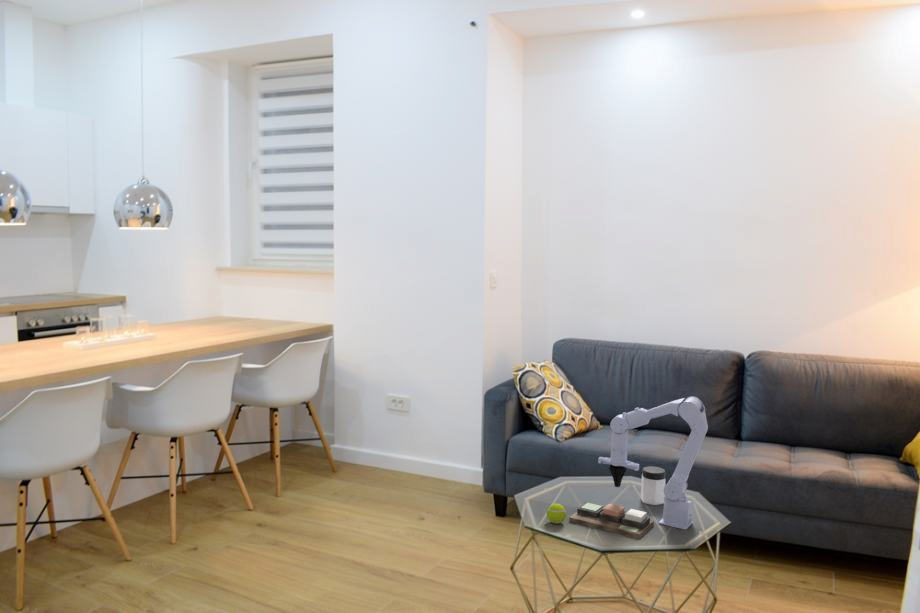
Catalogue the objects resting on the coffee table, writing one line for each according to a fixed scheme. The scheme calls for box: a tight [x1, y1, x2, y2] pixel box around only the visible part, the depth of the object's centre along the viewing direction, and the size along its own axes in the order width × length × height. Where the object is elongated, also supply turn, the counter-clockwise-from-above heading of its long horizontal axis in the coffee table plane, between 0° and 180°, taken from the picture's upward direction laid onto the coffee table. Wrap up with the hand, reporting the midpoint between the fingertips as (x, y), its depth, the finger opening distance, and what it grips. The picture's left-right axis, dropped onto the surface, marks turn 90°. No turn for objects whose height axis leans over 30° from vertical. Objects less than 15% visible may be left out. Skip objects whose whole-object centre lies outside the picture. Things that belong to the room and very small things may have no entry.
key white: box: [625, 508, 648, 523], centre depth 262 cm, size 6×6×2 cm
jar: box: [640, 465, 666, 506], centre depth 287 cm, size 9×8×12 cm
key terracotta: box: [603, 503, 625, 517], centre depth 267 cm, size 6×6×2 cm
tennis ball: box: [546, 503, 567, 525], centre depth 264 cm, size 7×7×7 cm
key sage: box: [581, 502, 603, 512], centre depth 271 cm, size 6×6×2 cm
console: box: [568, 501, 655, 540], centre depth 266 cm, size 25×14×3 cm, turn 57°
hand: (617, 486), depth 275 cm, fingers closed
